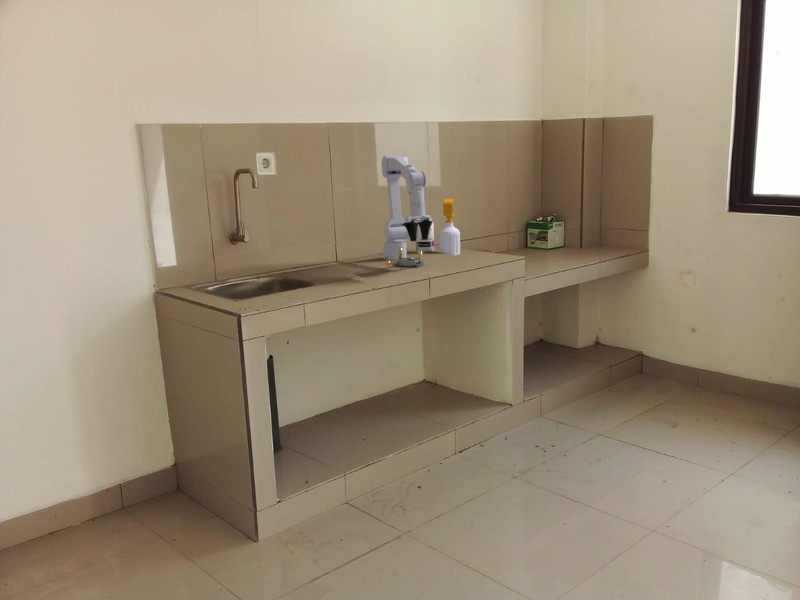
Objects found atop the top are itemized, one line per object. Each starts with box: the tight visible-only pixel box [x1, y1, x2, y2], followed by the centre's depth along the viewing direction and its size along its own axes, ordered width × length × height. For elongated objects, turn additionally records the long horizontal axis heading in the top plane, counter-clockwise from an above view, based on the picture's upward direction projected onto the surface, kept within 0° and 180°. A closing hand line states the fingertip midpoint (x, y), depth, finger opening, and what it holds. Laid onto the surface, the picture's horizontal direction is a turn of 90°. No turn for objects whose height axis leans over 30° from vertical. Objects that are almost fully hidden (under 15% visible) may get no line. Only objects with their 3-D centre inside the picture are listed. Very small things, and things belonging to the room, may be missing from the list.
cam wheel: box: [385, 248, 425, 268], centre depth 269 cm, size 16×17×6 cm
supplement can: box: [415, 218, 435, 253], centre depth 307 cm, size 8×8×15 cm
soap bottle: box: [438, 198, 461, 257], centre depth 297 cm, size 9×9×25 cm
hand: (419, 240), depth 258 cm, fingers open, 7 cm apart
